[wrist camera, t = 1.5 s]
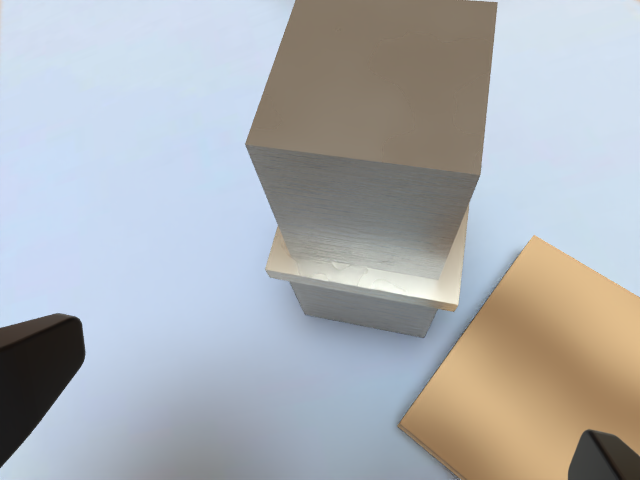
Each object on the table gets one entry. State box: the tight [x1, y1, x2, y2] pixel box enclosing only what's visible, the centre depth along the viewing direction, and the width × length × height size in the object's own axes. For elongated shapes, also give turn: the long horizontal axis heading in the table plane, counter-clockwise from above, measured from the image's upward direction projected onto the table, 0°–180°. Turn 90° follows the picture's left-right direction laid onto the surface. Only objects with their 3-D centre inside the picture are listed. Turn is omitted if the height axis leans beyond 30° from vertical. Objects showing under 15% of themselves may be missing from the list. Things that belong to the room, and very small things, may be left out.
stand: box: [397, 235, 640, 480], centre depth 18 cm, size 10×10×2 cm
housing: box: [245, 0, 498, 338], centre depth 16 cm, size 6×6×13 cm
